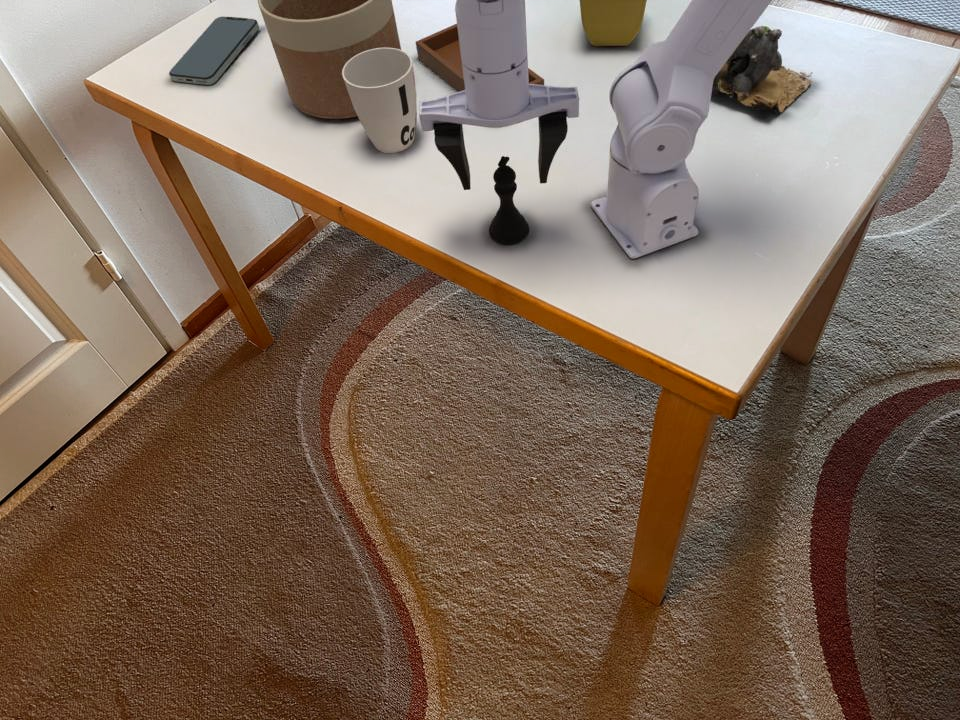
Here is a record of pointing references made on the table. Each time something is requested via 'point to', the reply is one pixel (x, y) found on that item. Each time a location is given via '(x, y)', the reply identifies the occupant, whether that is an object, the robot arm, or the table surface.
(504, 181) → the chess piece
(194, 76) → the smartphone
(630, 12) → the flower pot
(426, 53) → the brown rectangular tray
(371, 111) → the cup
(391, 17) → the planter
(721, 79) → the figurine
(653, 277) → the table surface
